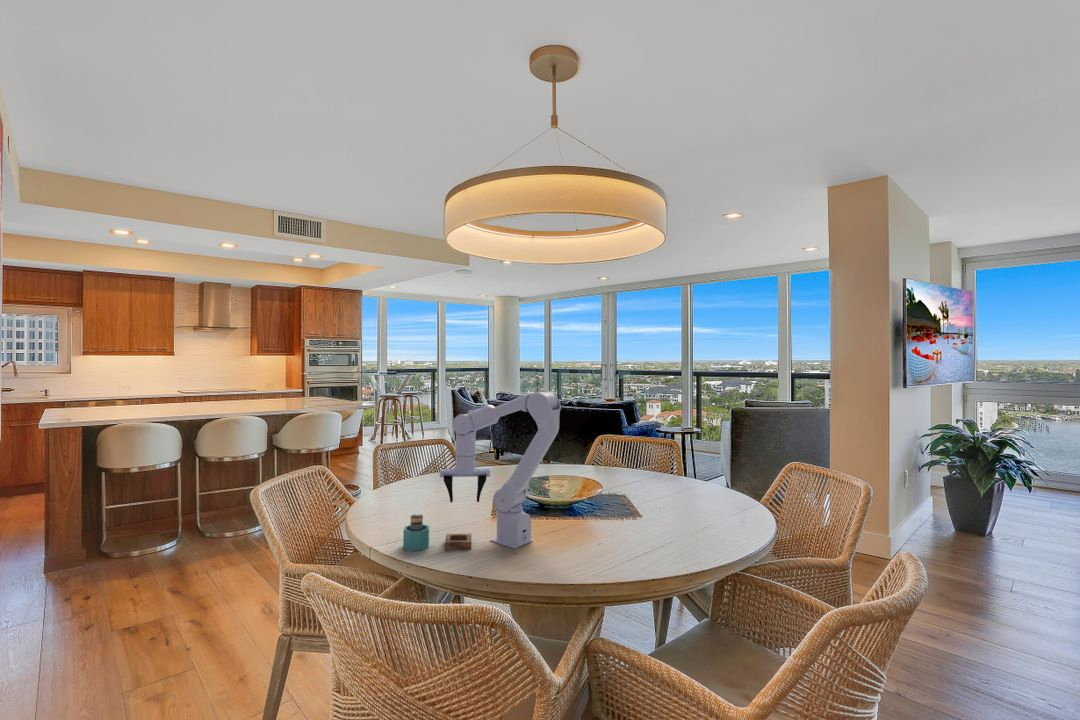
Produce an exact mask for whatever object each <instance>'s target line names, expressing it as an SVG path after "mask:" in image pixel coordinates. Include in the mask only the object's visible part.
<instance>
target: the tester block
mask: <svg viewBox="0 0 1080 720" xmlns="http://www.w3.org/2000/svg"><path fill="white" fill-rule="evenodd" d="M444 550H445V551H447V550H448V551H455V550H457V551H458V550H460V551H461V550H472V533H446V534H445V541H444Z"/></svg>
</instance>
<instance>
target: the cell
mask: <svg viewBox="0 0 1080 720" xmlns="http://www.w3.org/2000/svg"><path fill="white" fill-rule="evenodd" d="M423 517H424V516H423V514H420V513H414V514H412V515H410V525H411V529H410V531H421V530H423V524H424V522H423V521H424V518H423Z"/></svg>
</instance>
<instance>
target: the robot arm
mask: <svg viewBox="0 0 1080 720" xmlns="http://www.w3.org/2000/svg"><path fill="white" fill-rule="evenodd" d="M561 408H562V405H561V402H560V400H559V397H558V396H557V394H556V393H554V392H553V391H549V390H548V391H544V392H534V393H531V394H527V395H521V396H518V397H516V398H514V399H512V400H508V401H506V402H504V403H502V404H499V405H497V406H495V405H493V404H487V403H484V404H481V406H480V407H479V408H477V409H474V410H473V409H469V410H467V413H465V414H463V413H461V414H460V413H459V414H458V415H456V416H455V417H454V418H453V420H452V428H453V430H454V432H455V468H444V469H443V468H442V469H440V470H439V478H443V482H444V485H445V487H446V490H447V493H448V496H449V503H453V502H454V501H453V500H454V499H453V498H454V495H453V492H454V491H453V478H455V477H456V478H458V477H459V478H461V477H462V478H465V477H468V478H469V477H471V478H472V477H477V490H476V491H477V492H476V503H480V498H481V493H482V491H483V488H484V486H485V483H486V481H487V478H490V477H491V468H476V439H477V438H476V436H477V431H478V430H481V429H485V428H487V427H489V426H492V425H495V424H497V423H498V421H499V419H500V418H501V417H503V416H507V415H509V414H513V413H516V412H519V411H522V412H525V413H527V412H528V414H530V415H531V417H532V418H533V420H534V421H535V423H536V426H537V431H536V433H535V434H534V437H533V438H532V440H531V442H530V443H529V445H528V446H527V448H526V450H525V452H524V453H523V455H522V457H521V459H520V461H519V462H518V464H517V466H516V467H515V469H514V471H513V473H512V474H511V476H510V477H509V478H508V479H507V480H506V481H505V482H504V484H503V485H502V487H501V488H499V489H497V490H496V491H495V492H494V494H493V497H492V502H493V505H494V507H495V509H496V536H495V537H492V538H489V541H490V542H492V543H495V544H498V545H502V546H506V547H509V548H513V549H517V548H519V547H522V546H525V545H527V544H530V543H531V542H533V541H534V540H533V539H532V518H531V516H530V514H528V513H526V512H525V511H524V510H523V503H524V501H526V498H527V491H528V489H529V487H530V485H529V483H530V481H531V479H532V477H533V476H534V474H535V472H536V471H537V469H538V467H539V465H540V464H541V462H542V460H543V459H544V457H545V455H546V454H547V452H548V450H549V448H550V447H551V445H552V443H553V442H554V440H555V438H556V437H557V435H558V434H559V430H560V415H561V414H560V412H561Z"/></svg>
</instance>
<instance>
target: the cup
mask: <svg viewBox="0 0 1080 720" xmlns="http://www.w3.org/2000/svg"><path fill="white" fill-rule="evenodd" d="M410 529H411V524H409V525H406V526H404V528H403V536H402V537H403V538H402V539H403V540H402V541H403V542H402V543H403V544H402V546H403V548H402V549H403V550H407V551H414V552H416V551H423V550H425V549H428V548H429V547H430V546H429V545H430V525H428V524H424V523H423V530H421V531H410Z"/></svg>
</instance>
